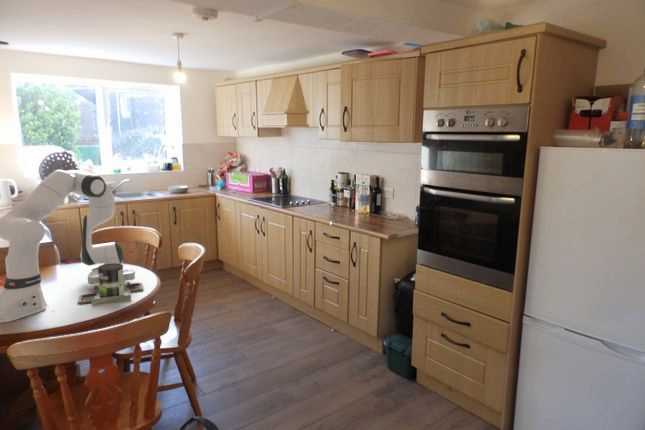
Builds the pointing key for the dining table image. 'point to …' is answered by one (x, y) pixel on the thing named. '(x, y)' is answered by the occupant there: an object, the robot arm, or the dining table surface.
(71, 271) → the dining table surface
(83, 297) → the lane
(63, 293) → the dining table surface
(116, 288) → the coffee can
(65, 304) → the dining table surface
